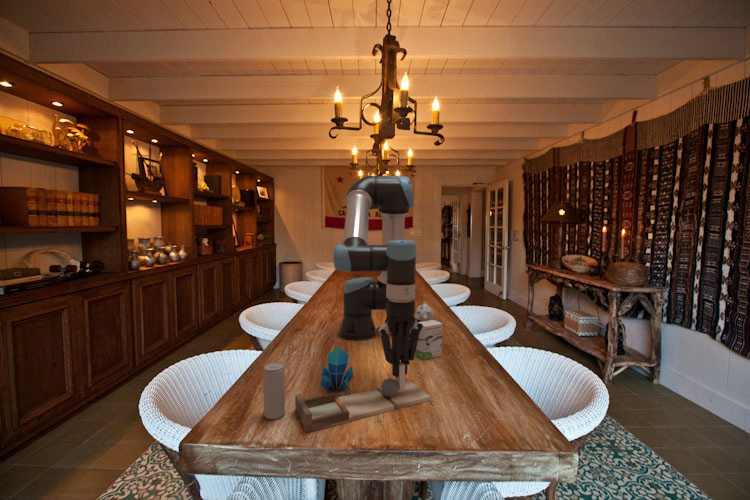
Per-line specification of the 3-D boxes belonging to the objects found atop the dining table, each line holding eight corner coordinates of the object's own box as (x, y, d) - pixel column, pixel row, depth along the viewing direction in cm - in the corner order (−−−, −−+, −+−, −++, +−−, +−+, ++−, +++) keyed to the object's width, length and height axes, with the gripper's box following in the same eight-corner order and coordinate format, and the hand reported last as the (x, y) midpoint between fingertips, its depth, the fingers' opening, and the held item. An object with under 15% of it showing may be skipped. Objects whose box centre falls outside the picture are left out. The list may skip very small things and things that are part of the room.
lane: (295, 410, 85) (295, 394, 85) (409, 384, 100) (410, 370, 100) (306, 432, 76) (306, 415, 76) (430, 400, 91) (430, 385, 91)
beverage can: (266, 409, 85) (265, 362, 85) (286, 409, 86) (286, 361, 85) (261, 421, 81) (261, 370, 80) (282, 420, 81) (282, 370, 80)
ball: (394, 387, 94) (380, 395, 92) (390, 372, 93) (376, 380, 91) (403, 394, 90) (388, 403, 88) (399, 379, 89) (385, 387, 87)
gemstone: (323, 386, 98) (323, 344, 97) (353, 387, 98) (354, 345, 97) (317, 399, 91) (317, 354, 90) (351, 400, 91) (351, 355, 90)
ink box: (423, 360, 118) (424, 326, 117) (414, 355, 122) (415, 322, 121) (442, 355, 122) (443, 322, 121) (432, 351, 126) (433, 319, 126)
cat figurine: (420, 297, 173) (426, 300, 158) (434, 306, 173) (441, 310, 158) (410, 314, 173) (415, 319, 158) (424, 322, 173) (430, 328, 158)
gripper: (385, 304, 84) (384, 399, 86) (429, 299, 90) (428, 388, 92) (371, 298, 91) (371, 386, 93) (413, 294, 97) (412, 377, 99)
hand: (399, 387), depth 92 cm, fingers closed
